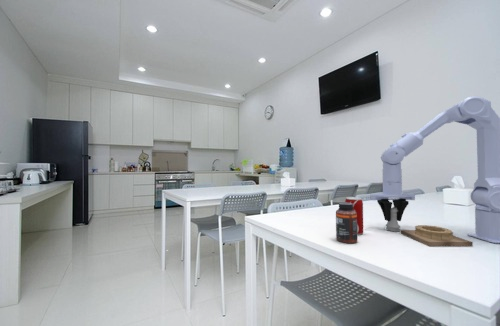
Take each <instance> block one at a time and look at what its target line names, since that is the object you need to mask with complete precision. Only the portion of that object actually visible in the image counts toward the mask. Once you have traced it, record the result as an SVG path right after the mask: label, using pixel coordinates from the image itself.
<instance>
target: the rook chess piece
mask: <svg viewBox="0 0 500 326" xmlns="http://www.w3.org/2000/svg"><path fill="white" fill-rule="evenodd" d="M397 212H398V210H397V208H396V207H395V208H394V206H392V207H391V220H390V221H387V223H386V224H385V226H386V227H385V229H386V231H388V232H393V233H394V232H395V233H397V232H401V225H400V224H399V221H397Z"/></svg>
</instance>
